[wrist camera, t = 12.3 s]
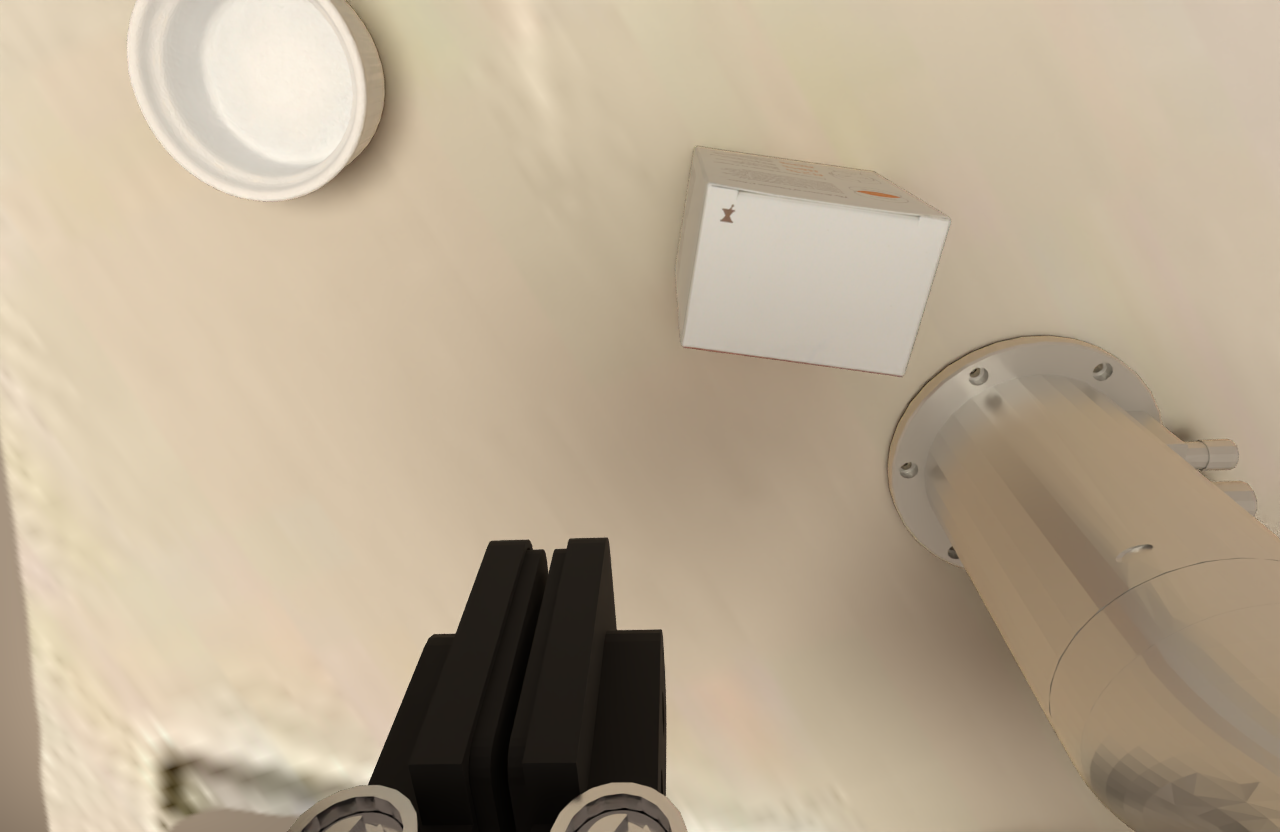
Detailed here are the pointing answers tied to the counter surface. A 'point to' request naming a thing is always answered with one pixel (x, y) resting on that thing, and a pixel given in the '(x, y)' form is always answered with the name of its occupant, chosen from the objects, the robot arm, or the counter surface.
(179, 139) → the ramekin
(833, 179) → the small box
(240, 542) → the counter surface
